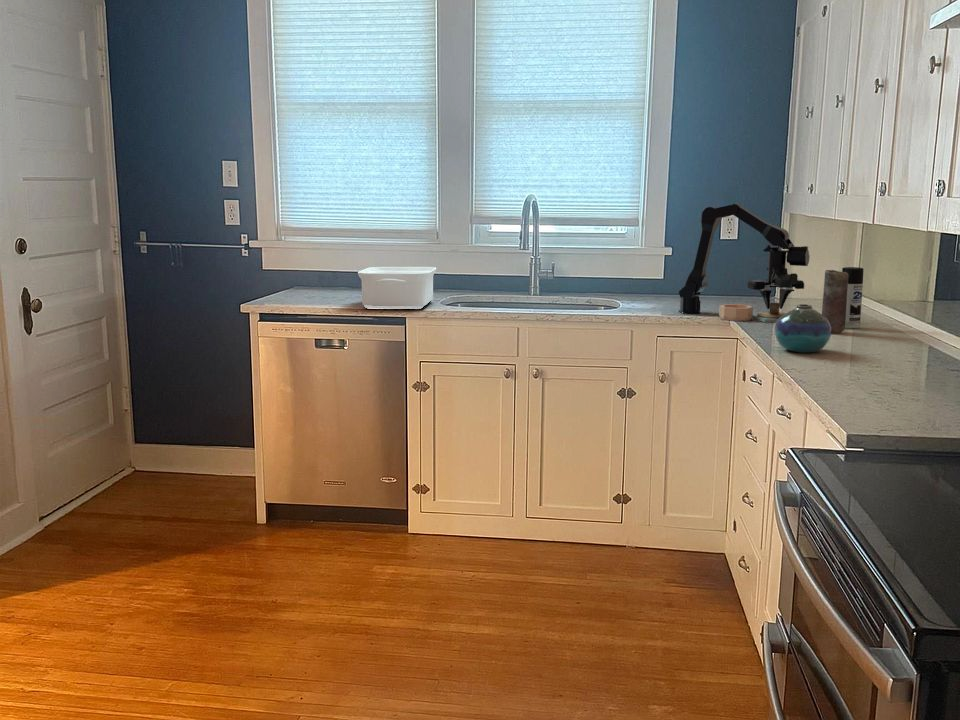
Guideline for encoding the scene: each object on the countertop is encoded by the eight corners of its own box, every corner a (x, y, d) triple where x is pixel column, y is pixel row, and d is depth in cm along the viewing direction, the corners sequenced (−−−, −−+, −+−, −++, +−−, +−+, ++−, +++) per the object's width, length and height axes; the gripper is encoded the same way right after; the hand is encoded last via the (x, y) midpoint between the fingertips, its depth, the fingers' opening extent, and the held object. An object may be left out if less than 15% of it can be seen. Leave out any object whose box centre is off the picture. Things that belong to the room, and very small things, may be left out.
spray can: (850, 329, 292) (854, 269, 288) (833, 327, 298) (837, 267, 294) (864, 328, 295) (868, 268, 291) (847, 325, 301) (851, 266, 297)
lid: (765, 319, 309) (766, 305, 308) (751, 314, 321) (752, 301, 320) (797, 318, 311) (798, 304, 310) (782, 313, 322) (782, 300, 321)
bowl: (727, 321, 312) (727, 308, 311) (715, 316, 322) (716, 304, 321) (756, 320, 313) (756, 307, 312) (743, 316, 323) (744, 304, 322)
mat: (764, 322, 309) (764, 319, 309) (748, 316, 322) (749, 314, 321) (799, 321, 310) (800, 318, 310) (783, 316, 323) (783, 313, 323)
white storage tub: (373, 300, 374) (372, 265, 372) (440, 301, 371) (439, 266, 369) (353, 312, 341) (352, 273, 338) (427, 312, 338) (426, 274, 335)
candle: (826, 329, 293) (831, 269, 289) (848, 332, 287) (853, 270, 284) (816, 332, 287) (820, 270, 283) (838, 335, 282) (843, 272, 278)
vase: (841, 354, 251) (845, 307, 249) (794, 357, 247) (798, 309, 244) (807, 344, 266) (810, 300, 263) (762, 347, 261) (765, 303, 259)
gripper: (761, 267, 303) (759, 312, 306) (813, 266, 305) (810, 311, 308) (748, 264, 314) (745, 308, 317) (798, 263, 316) (795, 307, 319)
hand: (774, 308), depth 315 cm, fingers open, 4 cm apart
